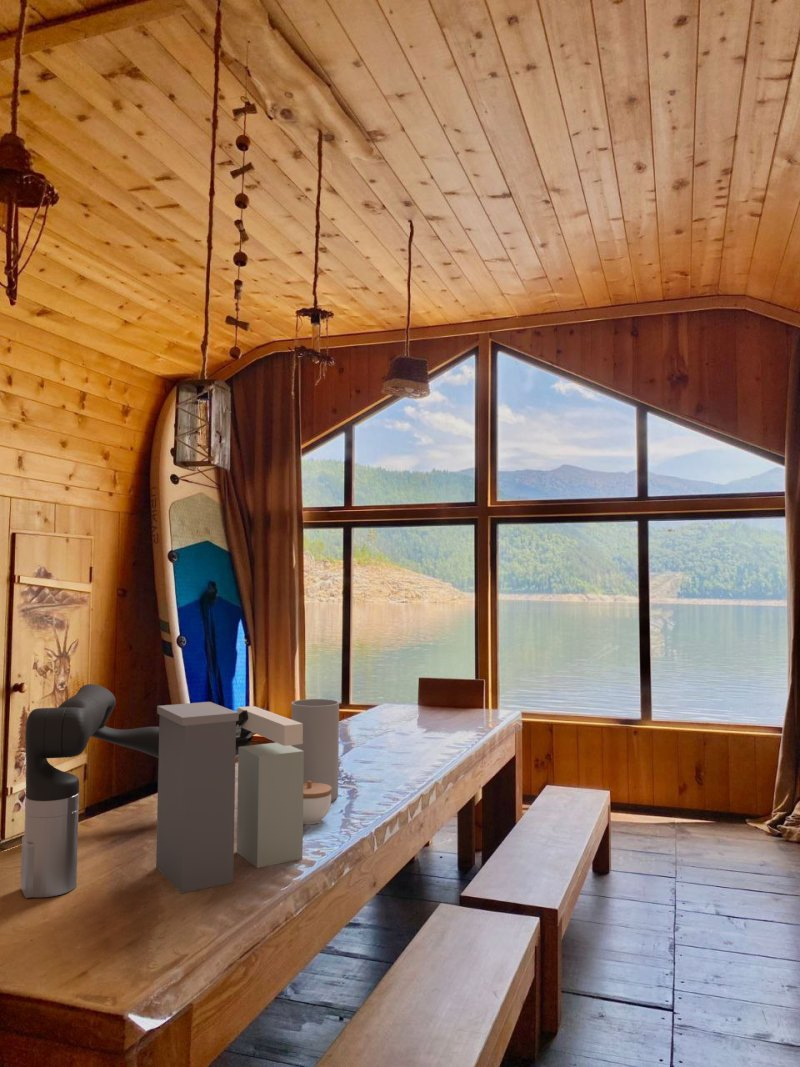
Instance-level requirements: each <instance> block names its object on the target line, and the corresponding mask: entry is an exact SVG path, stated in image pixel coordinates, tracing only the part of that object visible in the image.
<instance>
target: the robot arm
mask: <svg viewBox="0 0 800 1067" xmlns="http://www.w3.org/2000/svg"><path fill="white" fill-rule="evenodd" d="M116 699H117V698H116V697H115V695H114V694H113V693H112V692H111V691H110V690H109V689H107V688H106V687H105V686H101V685H98V684H92V683H90V684H89V683H88V684H83V685H82V686H81V687H80V688H79V690H77V693H76V694H74V695H73V696H72V697H70V698H68V699H66V700H64V701H63V702H61V704H60V705H59V706H58V707H42V708H41V707H39V708H35V709H33V710H30V712H29V714H28V716H27V719H26V722H25V734H24V735H25V738H24V739H25V740H24V741H25V801H24V802H25V808H24V810H25V811H24V814H25V815H24V835H23V836H22V838H21V858H20V859H21V862H20V863H21V864H20V866H21V867H20V889H21V892H22V894H23V896H24V898H25V899H29V898H51V897H55V896H57V897H58V896H59V895H64V894H66V893H68V892H70V891H73V890H74V889H75V888H76V887H77V885H78V883H77V880H78V847H79V846H78V843H79V842H78V840H79V838H78V837H79V809H80V808H79V805H80V804H79V803H80V801H79V800H80V778H79V777H78V776H77V775H75V774H73V773H69V772H66V771H63V770H61V769H58V768H56V767H55V766H54V765H52V764H50V762H49V761H48V759H61V758H62V759H63V758H66V759H67V758H73V757H77V756H80V755H81V754H82V753H83V752H84V751H85V750H86V748H87V745H88V744H89V741H90V738H91V737H92V738H95V739H98V740H102V741H105V742H107V743H111V744H114V745H118V746H121V747H125V748H128V749H131V750H132V749H133V750H134V751H138V752H141V753H144V754H147V755H150V756H152V757H154V758H157V759H159V726H146V727H137V728H129V729H127V728H126V729H118V728H112V727H108V726H106V725H107V724H106V723H107V722H108V720H109V718H110V716H111V715H112V712H113V711H114V709H115V706H116V704H117V700H116ZM262 709H263V710H266V711H269V710H268V709H267V708H265V707H263V708H262ZM247 720H248V713H247V710H243V711H242V712H241V713H240V714H239V721H236V755H235V759H236V758H238V747H241V746H250V744H251V742H252V740H253V736H254V735H257V734H256V733H253V732H251V731H249V730H246V729H244V728H242V727H241V725H243V724H244V723H245V722H246V721H247Z"/></svg>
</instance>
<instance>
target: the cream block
mask: <svg viewBox="0 0 800 1067" xmlns="http://www.w3.org/2000/svg"><path fill="white" fill-rule="evenodd" d="M236 710H237V711H236V712H238V713H239V714H240V713H241V712H242V711H243V710H247V713H248V720H247V721H246V722H245V723H244V724H243V725H241V727H242V728H244V729H246V730H249V731H251V732H253V733H256V734H255V735H259V736H260V737H264V738H265V739H267V740H270V741H272V742H273V743H279V744H281V745H283V746H288V745H290V746H291V745H297V744H303V724H302V723H300V722H297V721H294V720H291V718H288V717H286V716H283V715H279V714H277V713H275V712H272V711H270V710H268V711H266V710H263V708H261V707H258V706H255V705H250V706H249V705H248V706H237V708H236Z"/></svg>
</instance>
